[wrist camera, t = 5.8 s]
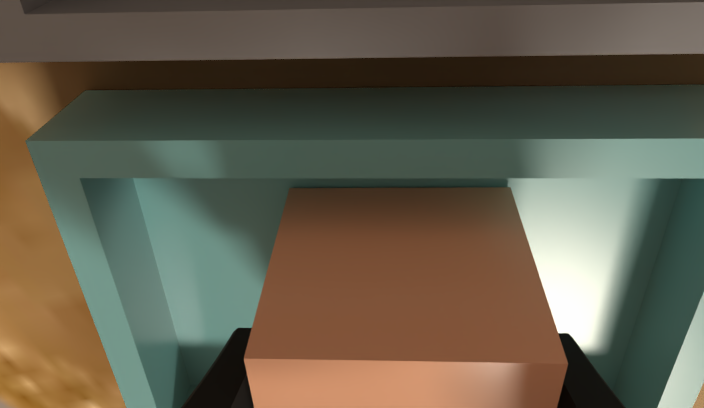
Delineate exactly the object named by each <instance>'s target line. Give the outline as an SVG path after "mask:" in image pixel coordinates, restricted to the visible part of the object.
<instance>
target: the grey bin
mask: <svg viewBox="0 0 704 408" xmlns="http://www.w3.org/2000/svg"><path fill="white" fill-rule="evenodd" d="M634 54H704V0H0V63H6V62H85V61H163V60H242V59H320V58H399V57H477V56H556V55H634Z"/></svg>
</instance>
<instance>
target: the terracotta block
mask: <svg viewBox="0 0 704 408" xmlns="http://www.w3.org/2000/svg"><path fill="white" fill-rule="evenodd" d="M244 362H245V367H246V372H247V377H248V381H249V386H250V391H251V395H252V400H253V405H254V408H557V405H558V401H559V398H560V394H561V390H562V386H563V382H564V378H565V374H566V370H567V366H568V362H567V359H566V356H565V353H564V349H563V346H562V343H561V340H560V337H559V334H558V331H557V328H556V325H555V322H554V319H553V316H552V313H551V310H550V307H549V304H548V301H547V298H546V294H545V291H544V288H543V285H542V282H541V279H540V276H539V273H538V270H537V267H536V264H535V261H534V258H533V255H532V252H531V249H530V246H529V242H528V239H527V236H526V233H525V230H524V227H523V224H522V221H521V218H520V215H519V212H518V209H517V206H516V203H515V200H514V197H513V194H512V191H511V187H451V188H289V191H288V195H287V199H286V203H285V206H284V210H283V214H282V217H281V221H280V225H279V229H278V232H277V236H276V240H275V244H274V247H273V251H272V255H271V258H270V262H269V266H268V270H267V273H266V277H265V281H264V285H263V288H262V292H261V296H260V299H259V303H258V307H257V311H256V314H255V318H254V322H253V326H252V329H251V333H250V337H249V340H248V344H247V348H246V352H245V355H244Z"/></svg>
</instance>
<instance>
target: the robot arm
mask: <svg viewBox="0 0 704 408" xmlns="http://www.w3.org/2000/svg"><path fill="white" fill-rule="evenodd" d="M251 329H252V328H237V329H236V330H235V331H234V332H233V333H232V335H231V337H230V338H229V340H228V341H227V343H226V344H225V346H224V348H223V349H222V351H221V352H220V354H219V355H218V357H217V358H216V360H215V361H214V363H213V364H212V366H211V367H210V368H209V370H208V371H207V373H206V374H205V376H204V377H203V379H202V380H201V381H200V383H199V384H198V385H197V387H196V388H195V389H194V391H193V392H192V394H191V395H190V396H189V398H188V399H187V400H186V402H185V403H184V404H183V406H182V407H181V408H254V405H253V400H252V395H251V391H250V386H249V381H248V377H247V372H246V367H245V362H244V355H245V352H246V348H247V344H248V340H249V337H250V333H251ZM558 334H559V337H560V340H561V343H562V346H563V349H564V353H565V356H566V359H567V362H568V366H567V370H566V374H565V378H564V382H563V386H562V390H561V394H560V398H559V401H558V405H557V408H626V407H625V406H624V405H623V404H622V403H621V401H620V400H619V399H618V398H617V396H616V395H615V394H614V392H613V391H612V390H611V389H610V387H609V386H608V385H607V383H606V382H605V381H604V379H603V378H602V377H601V376H600V374H599V373H598V372H597V370H596V369H595V368H594V366H593V365H592V364H591V362H590V361H589V359H588V358H587V357H586V355H585V354H584V353H583V351H582V350H581V348H580V347H579V346H578V344H577V343H576V341H575V340H574V339H573V337H572V336H571V335H570V334H569V333H558Z"/></svg>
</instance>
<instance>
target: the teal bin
mask: <svg viewBox="0 0 704 408" xmlns="http://www.w3.org/2000/svg"><path fill="white" fill-rule="evenodd" d="M26 144H27V147H28V149H29V152H30V154H31V157H32V160H33V162H34V165H35V168H36V170H37V173H38V176H39V178H40V181H41V183H42V186H43V189H44V191H45V194H46V197H47V199H48V202H49V205H50V207H51V210H52V212H53V215H54V218H55V220H56V223H57V226H58V228H59V231H60V233H61V236H62V239H63V241H64V244H65V247H66V249H67V252H68V255H69V257H70V260H71V262H72V265H73V268H74V270H75V273H76V276H77V278H78V281H79V284H80V286H81V289H82V291H83V294H84V297H85V299H86V302H87V305H88V307H89V310H90V313H91V315H92V318H93V320H94V323H95V326H96V328H97V331H98V334H99V336H100V339H101V341H102V344H103V347H104V349H105V352H106V355H107V357H108V360H109V363H110V365H111V368H112V370H113V373H114V376H115V378H116V381H117V384H118V386H119V389H120V392H121V394H122V397H123V399H124V402H125V405H126V407H127V408H181V407H182V406H183V404H184V403H185V402H186V400H187V399H188V398H189V396H190V395H191V394H192V392H193V391H194V389H195V388H196V387H197V385H198V384H199V383H200V381H201V380H202V379H203V377H204V376H205V374H206V373H207V371H208V370H209V368H210V367H211V366H212V364H213V363H214V361H215V360H216V358H217V357H218V355H219V354H220V352H221V351H222V349H223V348H224V346H225V344H226V343H227V341H228V340H229V338H230V337H231V335H232V333H233V332H234V331H235V330H236V329H237V328H252V326H253V322H254V318H255V314H256V311H257V307H258V303H259V299H260V296H261V292H262V288H263V285H264V281H265V277H266V273H267V270H268V266H269V262H270V258H271V255H272V251H273V247H274V244H275V240H276V236H277V232H278V229H279V225H280V221H281V217H282V214H283V210H284V206H285V203H286V199H287V195H288V191H289V188H451V187H511V191H512V194H513V197H514V200H515V203H516V206H517V209H518V212H519V215H520V218H521V221H522V224H523V227H524V230H525V233H526V236H527V239H528V242H529V246H530V249H531V252H532V255H533V258H534V261H535V264H536V267H537V270H538V273H539V276H540V279H541V282H542V285H543V288H544V291H545V294H546V298H547V301H548V304H549V307H550V310H551V313H552V316H553V319H554V322H555V325H556V328H557V331H558V333H569V334H570V335H571V336H572V337H573V339H574V340H575V341H576V343H577V344H578V346H579V347H580V348H581V350H582V351H583V353H584V354H585V355H586V357H587V358H588V359H589V361H590V362H591V364H592V365H593V366H594V368H595V369H596V370H597V372H598V373H599V374H600V376H601V377H602V378H603V379H604V381H605V382H606V383H607V385H608V386H609V387H610V389H611V390H612V391H613V392H614V394H615V395H616V396H617V398H618V399H619V400H620V401H621V403H622V404H623V405H624V406H625V407H626V408H692V407H693V405H694V403H695V401H696V398H697V396H698V394H699V392H700V389H701V387H702V385H703V383H704V84H703V85H598V86H492V87H386V88H281V89H175V90H85V91H84V92H83V93H81V94H80V95H79V96H78V97H77V98H76V99H74V100H73V101H72V102H71V103H70V104H68V105H67V106H66V107H65V108H64V109H63V110H61V111H60V112H59V113H58V114H57V115H56V116H54V117H53V118H52V119H51V120H50V121H48V122H47V123H46V124H45V125H44V126H43V127H41V128H40V129H39V130H38V131H37V132H35V133H34V134H33V135H32V136H31V137H30V138H28V139H27V140H26Z"/></svg>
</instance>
